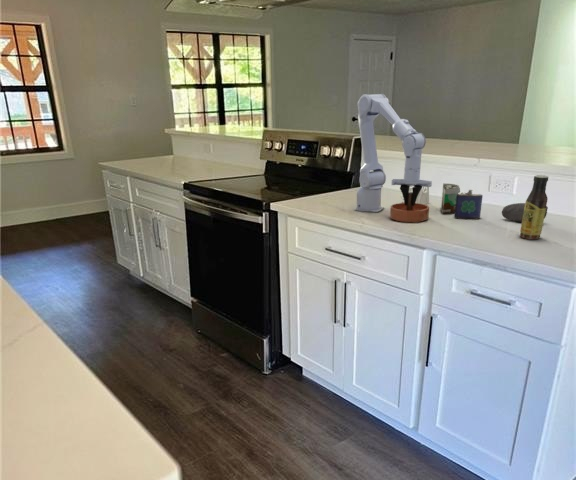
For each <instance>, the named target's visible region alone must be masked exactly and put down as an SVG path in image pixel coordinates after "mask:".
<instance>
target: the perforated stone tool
mask: <svg viewBox="0 0 576 480" xmlns="http://www.w3.org/2000/svg"><path fill="white" fill-rule="evenodd" d="M525 203H526V202H518V203H517V202H516V203H511V204H507V205H506V206H504V207H503V208H502V210H501V215H502V217H503V218H504V219H506V220H507V221H514V222H518V223H522V219H523V213H524V208H525ZM548 209H549V208H548V206H547V205H546V212H545V216H544V219H545V218H547V214H548Z"/></svg>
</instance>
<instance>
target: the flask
mask: <svg viewBox="0 0 576 480" xmlns="http://www.w3.org/2000/svg"><path fill="white" fill-rule="evenodd" d="M482 204H483V194H481V193H473V189H468V192H460V193H458V194H457V196H456V207H455V212H454V219H459V220H460V219H461V220H467V219H468V220H479V219H480V218H481V214H482V213H481V212H482Z"/></svg>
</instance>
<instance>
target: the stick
mask: <svg viewBox="0 0 576 480" xmlns="http://www.w3.org/2000/svg"><path fill="white" fill-rule="evenodd" d="M412 198H413V193H412V192H409V193H408V195H407V211H413V206H412Z"/></svg>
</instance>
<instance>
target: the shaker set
mask: <svg viewBox="0 0 576 480" xmlns="http://www.w3.org/2000/svg"><path fill="white" fill-rule="evenodd" d="M413 187H414V186H410V187H409V192H412V193H413V190H412V188H413ZM400 199H401V200H403V201H404V198H403V195H402V194H401V195H400ZM416 203H419V204H424V205H429V204H430V187H425V186H422V188H421V190H420V192H419V194H418V196H417V199H416Z"/></svg>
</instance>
